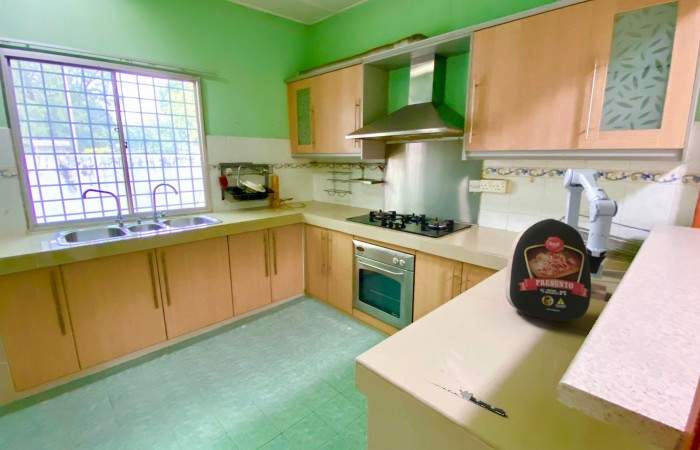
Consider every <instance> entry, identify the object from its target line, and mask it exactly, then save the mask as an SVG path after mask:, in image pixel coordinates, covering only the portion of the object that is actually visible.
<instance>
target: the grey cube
mask: <svg viewBox="0 0 700 450" xmlns="http://www.w3.org/2000/svg"><path fill="white" fill-rule="evenodd" d="M604 263H605V262H604V261H602V263H601V265H600V267H599V270H598V272H597V274H593V273H590V275H591V278H592V279H599V280H602V277H603V270H604Z"/></svg>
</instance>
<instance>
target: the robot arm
mask: <svg viewBox="0 0 700 450" xmlns="http://www.w3.org/2000/svg"><path fill="white" fill-rule="evenodd" d="M598 177H599V172H598V170H597V169H596V168H568V169H566V172H565V173H564V177H563V178H564V179H563V188H564V189H567V198H566V206H565V215H564V221H563V223H566V224H568V225H570V226H571V227H573V228H574V229H576V230H577V231H578V232H579V234H580V235H581V237H582V239H583V241H584V242H585V240H584V233H583V231H581V229H579V228H578V226H579V217H580V209H581V201H582V193H583V191H586V192H585V198H586V200H587V201H588V202H587V203H588V204H589V209H588V210H589V221H590V225H589V231H588V237H587V243H586V245H585V247H586V250H587V254H588V259H589V268H590V273H593V274H597V272H598V270H599V267H600V265H601V263H602V262H604V260H605V259H606V258H607V256H606V253H607V251H612V250H613V249H612V247H610V246H609V240H610V235H611V229H612V223H613V218H615V217H616V215H617V214H618V211H619V205H618V201H617V200H616V199H612V198H610V197H609V196H608V194H607V192H606V191H605V189H604V188H603V187H600V186H598V182H597V181H598Z"/></svg>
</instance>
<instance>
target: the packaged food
mask: <svg viewBox="0 0 700 450" xmlns="http://www.w3.org/2000/svg"><path fill="white" fill-rule="evenodd" d="M587 253H588V252H587V248H586V245H585V240H584V241H583V239H582V237H581V235H580V234H579V232H578V231H577V230H576V229H574V228H573V227H571V226H570V225H568V224H566V223H564V221H560V220H558V219H555V218H544V219H541V220H537V221H535V222H533V223H531V224H529V225H528V226H527V227H525V228H524V229H523V230H521V231H520V232H519V233H518V235H517V236H516V238H515V240H514V242H513V243H512V246H511V248H510V251H509V255H508V259H507V265H506V274H505V289H504V294H505V298H506V301H507V302H508V304H509V305H510V306H511V307H512V308H514V309H515V310H518V311H519V312H521V313H523V314H526V315H528V316H531V317H536V318H538V319H539V318H540V319H545V320H550V321H556V322H557V321H574V320H577V319H578V320H579V319H580V318H582V317H584V316H585V314H586V313H587V312H588V310H589V308H590V303H591V298H590V297H591V283H592V277H591V275H590V268H589V259H588V254H587Z"/></svg>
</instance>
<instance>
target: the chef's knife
mask: <svg viewBox="0 0 700 450" xmlns="http://www.w3.org/2000/svg"><path fill="white" fill-rule="evenodd" d="M459 391H460V392H461V393H460V394H461V395H462V396H463V397H465V398H467V399H469V400H471V401H473V402H475V403H474V404H476V403H478V404H480V405H483V406H485V407H487V408H489V409H492V410H494V411H497V412H499V413H501V414H504V415H505V414H506V415H507V413H506V411H504V409H502V408H498V407H495V406H493V405H491V404H488V403H486V402H483V401H482V400H480V399H478V398H475V397H474V396H473V394H472V393H468V391H469V390H468V391H464V392H463V391H462V390H461V389H460V390H459ZM469 400H468V401H469ZM471 401H470V402H471ZM473 402H472V403H473ZM478 404H477V405H478ZM480 405H479V406H480ZM489 409H488V410H489Z"/></svg>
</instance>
